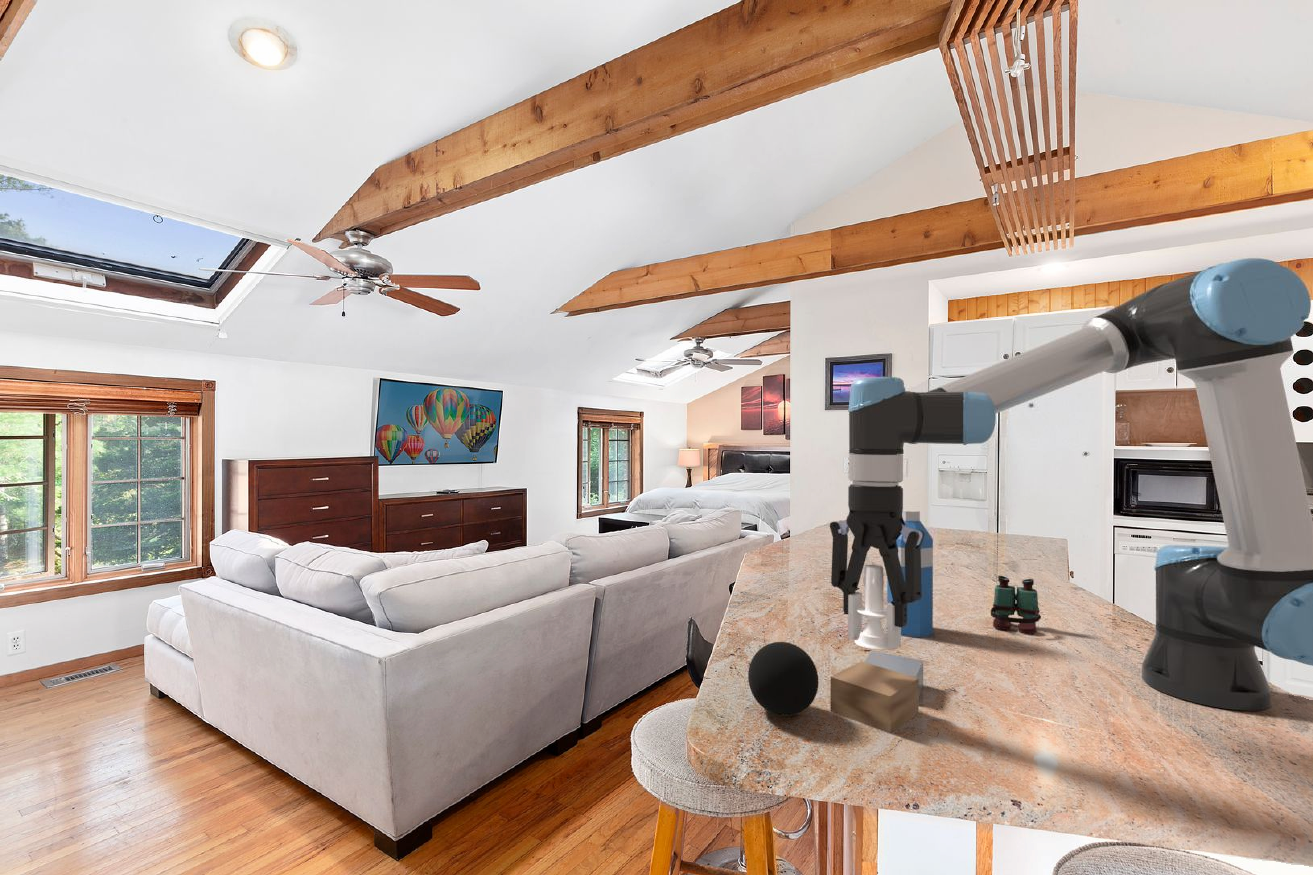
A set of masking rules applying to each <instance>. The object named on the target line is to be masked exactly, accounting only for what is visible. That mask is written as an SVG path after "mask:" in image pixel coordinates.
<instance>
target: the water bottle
mask: <svg viewBox="0 0 1313 875" xmlns="http://www.w3.org/2000/svg"><path fill="white" fill-rule="evenodd" d="M902 517H903V520H904V522H905V525H906V526H907V527H910V528H912V529H914V530H922V531H923V532H924V534H925V536H924V539H923V542H922V544H921V588H922V597H921V599H919V600H917V601H915V602H912V603H908V604H907V624H906V626H904V627H901V637H903V636H906V637H912V638H924V637H928V636H929V637H930V636H933V635H934V633H933V632H934V630H933V629H934V626H933V624H934V617H933V614H934V606H933V605H934V604H933V602H934V600H933V599H934V587H933V586H934V585H933V584H934V580H933V579H934V565H933V564H934V539H933V537H932V536H931V534H930V532H929V531H928V530H927V528H926V527H925V526H924V524H923V523H922V521H921V519H920V518H921V512H920V510H918V509H907V508H903V512H902ZM896 542H897V546H898V550H899V552H898V557H899V561H900V565H901V568H902V572H903V576H904V580H905V544H906V543H905V542H904V541H903V534H901V535H900V536H899V538H898V539H897V540H896ZM886 579H887V580H886V582H887V583H886V605H887V604H888V603H890V602H891V601H893V599H892V595H891V590H890V586H889V582H888V578H887V577H886Z"/></svg>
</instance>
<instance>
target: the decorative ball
mask: <svg viewBox="0 0 1313 875" xmlns="http://www.w3.org/2000/svg"><path fill="white" fill-rule="evenodd" d="M747 677H748V678H747V680H748V684H749V689H750V692H751V694H752V696H753V698H754V699H755V700H756V702H757V703H758V704H759V705H760V706H761V707H762V708H763V709H764V710H766V711H768V712H770V714H773V715H776V716H782V717H793V716H795V715H798V714H800V713H801V714H802V712H804V711H806V710H807V709H808V708H809V707H810V706H811V705H812V703H813V702H814V701H815V699H816V696H817V694H818V690H819V674H818V670H817V667H816V664H815V662H814V661H813V659H812V658H811V656H810V655H809V654H808V653H807V652H806V651H805V650H804V649H803V648H801V647H800V646H797V644H793V643H790V642H787V641H774V642H771V643H768V644H766V645H764V646H763V647H761V648H760V649H758V650H757V652H756V653H755V654H754V656H753V657H752V659H751V661H750V663H749V666H748V672H747Z"/></svg>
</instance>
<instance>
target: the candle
mask: <svg viewBox="0 0 1313 875" xmlns="http://www.w3.org/2000/svg"><path fill="white" fill-rule="evenodd" d="M871 563H872V564H864V575H863V579H862V582H863V586H864V606H862V608H859V609H857V611H858V612H859V613H860V614H862V617H864V618H865V619H867V621H866V622H865V626H864V627H863V629H862V630H861V631H860V635H859V637H858V638H856V639H854V644H856V646H858V647H861V648H863V649H868V650H871V651H888V650H887V632H886V631H885V630H884V628H883V625H882V622H881V621H882V620H883V619H887V609H884V589H885V588H884V585H885V581H884V578H885V577H884V576H885V573H884V567H883V565H879V564H878V565H877V564H875V563H874V562H873V561H871Z"/></svg>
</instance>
